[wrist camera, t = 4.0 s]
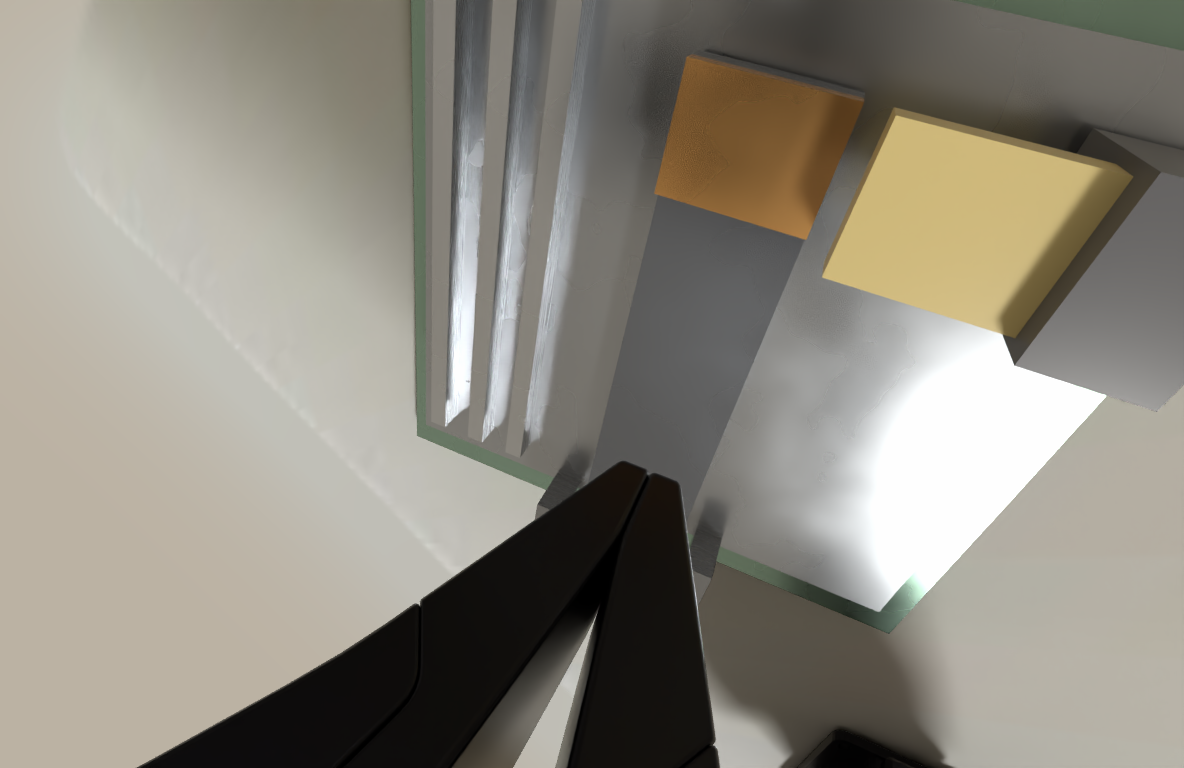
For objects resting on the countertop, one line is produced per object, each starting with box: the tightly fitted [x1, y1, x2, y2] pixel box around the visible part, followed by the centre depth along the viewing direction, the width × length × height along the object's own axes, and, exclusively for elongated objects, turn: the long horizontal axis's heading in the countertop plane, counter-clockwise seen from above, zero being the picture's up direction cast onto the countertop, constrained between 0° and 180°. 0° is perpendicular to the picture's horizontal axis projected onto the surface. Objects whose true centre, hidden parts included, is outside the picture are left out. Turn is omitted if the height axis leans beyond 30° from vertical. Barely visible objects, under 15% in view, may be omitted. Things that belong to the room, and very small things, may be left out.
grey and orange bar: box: [588, 50, 864, 522], centre depth 14 cm, size 14×3×1 cm, turn 170°
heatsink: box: [411, 0, 1184, 634], centre depth 15 cm, size 19×19×4 cm
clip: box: [822, 107, 1184, 412], centre depth 9 cm, size 3×5×3 cm, turn 80°
